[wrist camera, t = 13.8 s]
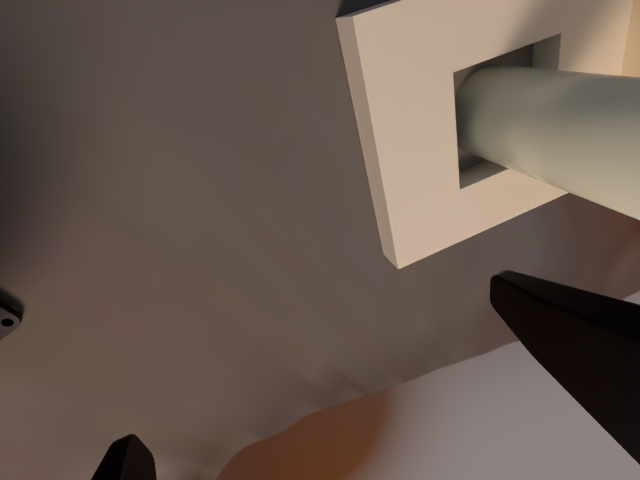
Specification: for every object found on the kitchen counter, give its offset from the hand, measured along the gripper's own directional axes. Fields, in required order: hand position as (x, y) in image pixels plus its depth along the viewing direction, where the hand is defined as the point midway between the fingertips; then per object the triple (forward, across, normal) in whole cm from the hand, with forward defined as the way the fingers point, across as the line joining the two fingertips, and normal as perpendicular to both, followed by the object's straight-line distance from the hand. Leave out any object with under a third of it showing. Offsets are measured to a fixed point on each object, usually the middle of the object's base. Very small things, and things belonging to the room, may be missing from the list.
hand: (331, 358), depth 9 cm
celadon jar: (+13, -15, +1) cm, 20 cm away
